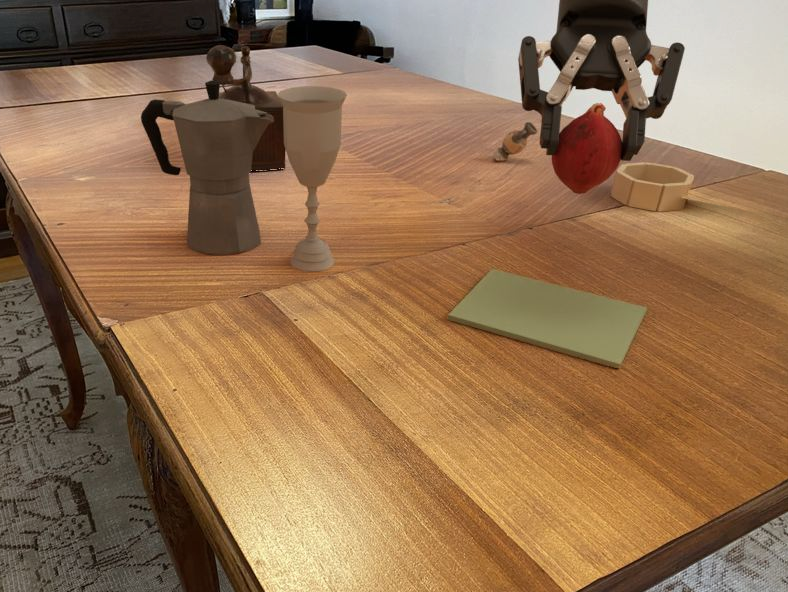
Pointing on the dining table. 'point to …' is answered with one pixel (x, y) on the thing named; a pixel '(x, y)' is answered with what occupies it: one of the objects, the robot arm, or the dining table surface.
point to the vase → (514, 142)
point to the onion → (587, 151)
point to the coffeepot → (213, 167)
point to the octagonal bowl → (651, 186)
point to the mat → (551, 317)
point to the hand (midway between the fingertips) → (590, 153)
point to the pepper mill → (272, 140)
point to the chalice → (312, 158)
